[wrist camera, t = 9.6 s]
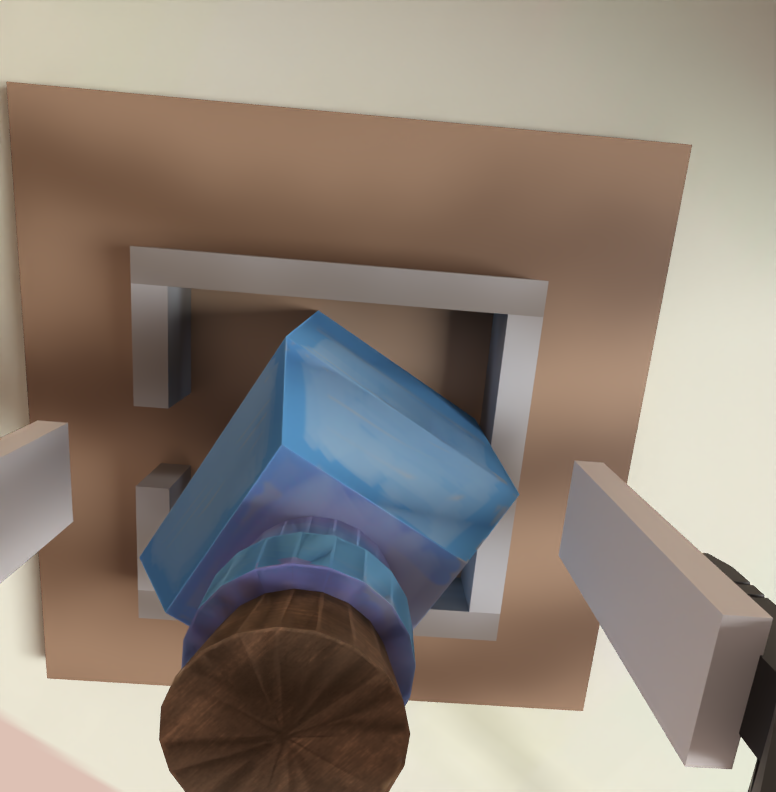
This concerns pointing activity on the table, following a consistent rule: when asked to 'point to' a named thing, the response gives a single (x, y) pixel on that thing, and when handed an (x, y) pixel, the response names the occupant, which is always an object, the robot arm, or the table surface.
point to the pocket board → (350, 308)
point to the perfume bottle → (316, 568)
